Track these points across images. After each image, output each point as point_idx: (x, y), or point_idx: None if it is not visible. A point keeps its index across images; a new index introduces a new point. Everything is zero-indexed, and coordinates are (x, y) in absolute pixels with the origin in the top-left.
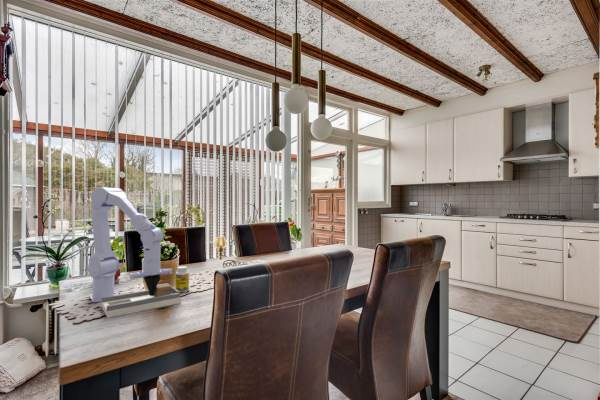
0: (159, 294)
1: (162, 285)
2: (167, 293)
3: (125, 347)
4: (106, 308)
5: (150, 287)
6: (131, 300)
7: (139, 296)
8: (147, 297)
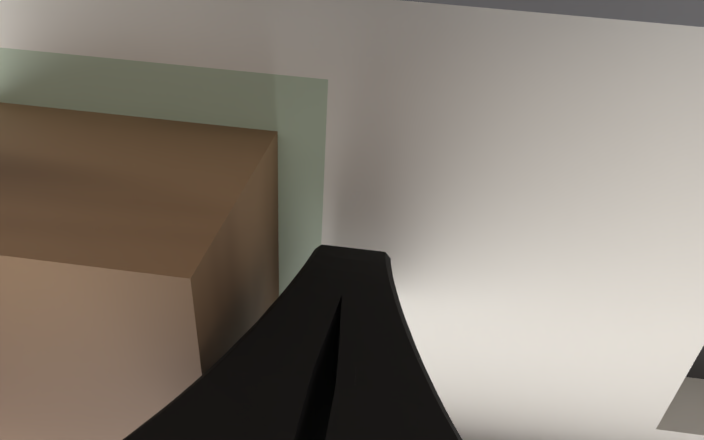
0: (210, 162)
1: (28, 407)
2: (24, 137)
3: None
4: None
5: (402, 396)
6: (693, 343)
7: (482, 428)
8: (407, 315)
